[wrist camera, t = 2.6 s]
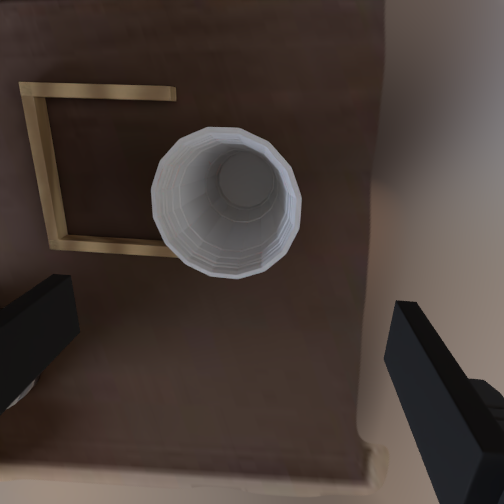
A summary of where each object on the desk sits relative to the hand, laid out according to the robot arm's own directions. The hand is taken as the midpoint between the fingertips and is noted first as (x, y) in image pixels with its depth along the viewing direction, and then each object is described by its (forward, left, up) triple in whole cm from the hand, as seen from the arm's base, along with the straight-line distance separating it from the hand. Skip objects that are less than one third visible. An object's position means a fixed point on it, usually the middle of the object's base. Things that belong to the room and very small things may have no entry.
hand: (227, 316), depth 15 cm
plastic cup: (-2, +2, -23) cm, 23 cm away
